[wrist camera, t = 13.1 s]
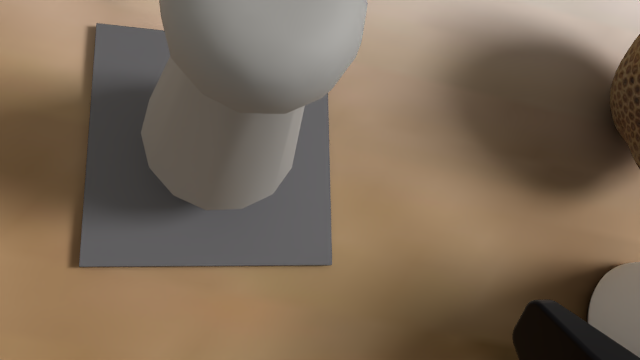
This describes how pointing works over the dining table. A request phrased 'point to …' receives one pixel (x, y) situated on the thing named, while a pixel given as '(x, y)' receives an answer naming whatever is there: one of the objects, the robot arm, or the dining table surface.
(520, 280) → the dining table surface
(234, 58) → the salt shaker
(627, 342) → the can
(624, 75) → the natural sponge
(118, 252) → the charcoal mat
